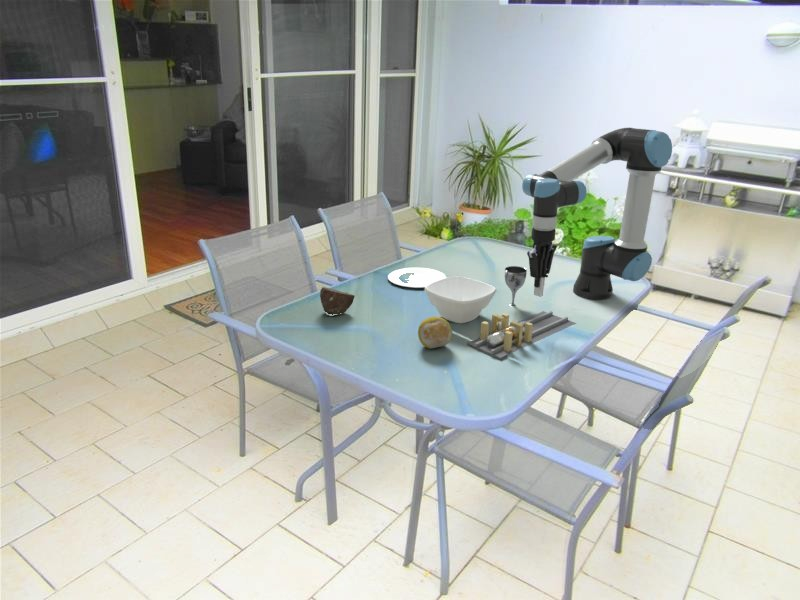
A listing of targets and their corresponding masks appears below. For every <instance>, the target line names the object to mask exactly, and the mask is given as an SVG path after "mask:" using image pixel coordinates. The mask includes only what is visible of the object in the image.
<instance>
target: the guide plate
mask: <svg viewBox="0 0 800 600" xmlns="http://www.w3.org/2000/svg"><path fill="white" fill-rule="evenodd" d="M501 316H502V317H505V320H504V321H503V322H500V323H501V324H500V328H499V329H498V332H499V331H501V330H504V329H506V328H508V327H511V326H510V322H509V321H510V314H509V313H506V312H504V313H502V314H501ZM523 321H526V322H527V323H525V333H524V334H523V335H522V343H521V346H519V347H517V346H515V345H514V339H512V334H513V333H512V332H510V331H506V332H505V337H504V343H502V344H500V345H498V346H495V347H493V348H490V347H488V346H487V344H486V342H485V339H486V337H487V336H489V335H491V332H489V326H490V322H488V321H486V320H485V321H482V322H481V325H480V337H477V338H475V339H473V340H470V341H468V342H467V343H466V344H467V346H469V347H471V348H473V349H475V350H478V351H480V352H482V353H484V354H486V355H488V356H490V357H493V358H495V359H497V360H499V361H502V360H504V359H506V358H509V357H510V354H512V353H514V352H517V351H519V350H521V349H523V348H525V347H528V346H530V345H532V344H534V343H536V342H539V341H540V340H542V339H545V338H548V337H550V336H552V335H553V334H555V333H558V332H560V331H562V330H565V329H566V328H568V327H571V326H572V325H575V324H576V322H574V321H571V320H569V316H565V317H563V318H562V317H560V316H558V315H555V314H554V311H551V310H550V311H548V312H546V311H544V310H543V311H540V312H538V313H535V314H533V315H531V316H528V317H526V318H523V319H521V320H519V321H516V322H517V323H520V322H523Z"/></svg>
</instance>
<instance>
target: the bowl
mask: <svg viewBox="0 0 800 600" xmlns="http://www.w3.org/2000/svg"><path fill="white" fill-rule="evenodd" d="M423 289H424V292H425V294H426V295H427V297H428V300H429V301H430V304H431V305H433V306H434V307H435V308H436V311H437V312H438V314H439V316H440V317H441V318H443V319H445V320H446V321H450V322H453V323H457V324H465V323H468V322H472V321H474V320H476V319H477V318H478V317H479V316H480V314H481V313H482V311H483V309H485V308H487V307H488V306H489V304H490V303H491V301H492V299H493V298H494V296H495V294H496V293H497V288H496V287H494V286H493V285H491V284H490V283H489V284H488V283H486V282H483V281H481V280H477V279H474V278H469V277H467V276H466V277H465V276H460V275H456V276H449V277H447V278H444V279H441V280H438V281H435V282H433V283H431V284H429V285H427V286H426V287H425V288H423Z"/></svg>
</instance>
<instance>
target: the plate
mask: <svg viewBox="0 0 800 600" xmlns="http://www.w3.org/2000/svg"><path fill="white" fill-rule="evenodd" d="M406 273H414V275H412V274H411V275H410V276H409V278H408V279H405V280H409V281H407V282H408V283H404V282H402V281H401V280H400V279H399V277H400V276H401V275H403V274H406ZM444 278H448V277H447V276H446V274H445V273H444V272H442V271H439V270H437V269H435V268H428V267H404V268H400V269H396V270H392V271H391V272H390V273H389V274H388V275H387V279H388V280H389V282H390V283H392V284H394V285H396V286H400V287H403V288H409V289H425V287H426V286H427V285H429V284H431V283H433V282H435V281H438V280H441V279H444Z"/></svg>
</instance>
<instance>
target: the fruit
mask: <svg viewBox="0 0 800 600" xmlns="http://www.w3.org/2000/svg"><path fill="white" fill-rule="evenodd" d="M417 330H418V331H417V336H418V339H419V342H420V343H421V344H422V346H424V347H425V348H427V349H435V348H440V347H444V346H446V345H448V344H449V342H450V341H451V339H452V337H453V330H452V327H451V325H450V323H449V322H448V320H447V319H445V318H443V317H441V316H440V317H439V316H430V317H427V318H425V319H424V320H422V321H421V322H420V324H419V326H418V329H417Z"/></svg>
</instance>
